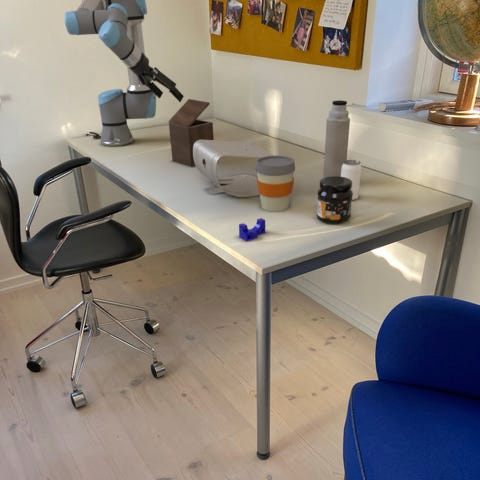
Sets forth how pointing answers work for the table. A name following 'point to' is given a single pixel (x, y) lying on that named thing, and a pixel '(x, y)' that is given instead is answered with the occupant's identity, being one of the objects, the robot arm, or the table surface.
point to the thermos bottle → (336, 139)
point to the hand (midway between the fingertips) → (171, 97)
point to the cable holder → (251, 230)
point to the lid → (189, 112)
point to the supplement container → (334, 200)
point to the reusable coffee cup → (275, 181)
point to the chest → (188, 140)
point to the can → (352, 175)
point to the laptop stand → (218, 149)
